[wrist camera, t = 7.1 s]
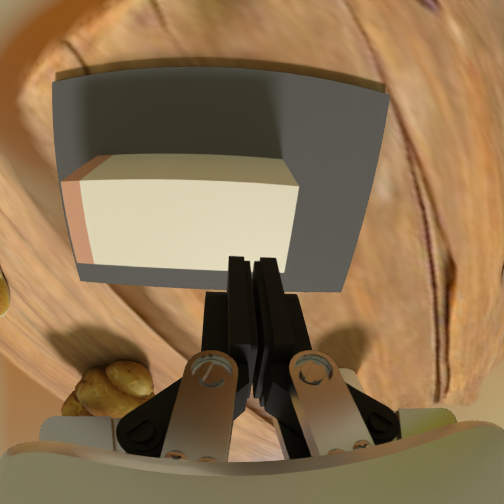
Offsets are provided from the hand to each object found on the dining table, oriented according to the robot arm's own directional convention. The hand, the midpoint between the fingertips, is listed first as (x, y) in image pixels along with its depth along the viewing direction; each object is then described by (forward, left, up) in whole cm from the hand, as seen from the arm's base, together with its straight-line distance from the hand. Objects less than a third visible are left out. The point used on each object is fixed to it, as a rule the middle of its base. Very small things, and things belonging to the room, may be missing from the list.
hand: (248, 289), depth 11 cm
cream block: (-2, 0, -7) cm, 7 cm away
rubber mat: (+2, 0, -10) cm, 10 cm away
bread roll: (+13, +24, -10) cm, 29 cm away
